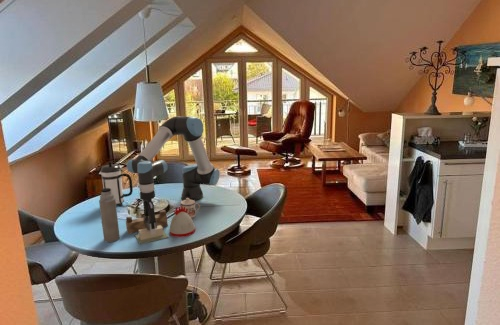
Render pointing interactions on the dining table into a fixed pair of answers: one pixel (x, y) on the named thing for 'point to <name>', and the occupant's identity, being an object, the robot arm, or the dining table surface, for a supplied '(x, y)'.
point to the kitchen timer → (181, 223)
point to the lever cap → (146, 223)
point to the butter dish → (146, 237)
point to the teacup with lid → (190, 207)
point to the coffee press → (115, 181)
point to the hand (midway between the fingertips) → (151, 230)
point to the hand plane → (138, 223)
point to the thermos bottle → (109, 216)
